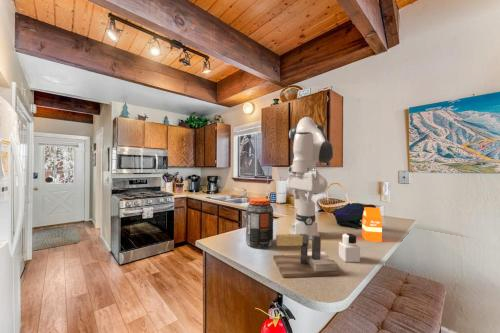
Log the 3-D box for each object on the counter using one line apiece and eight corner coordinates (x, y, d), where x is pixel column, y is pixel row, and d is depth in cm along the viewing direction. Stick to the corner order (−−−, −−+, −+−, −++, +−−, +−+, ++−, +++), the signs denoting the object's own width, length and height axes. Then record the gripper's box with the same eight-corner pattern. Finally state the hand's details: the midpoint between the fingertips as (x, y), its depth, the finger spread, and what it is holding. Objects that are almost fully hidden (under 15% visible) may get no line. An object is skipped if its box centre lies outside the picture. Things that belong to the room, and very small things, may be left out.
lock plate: (273, 258, 104) (273, 228, 104) (320, 257, 107) (321, 228, 107) (282, 277, 86) (283, 241, 86) (339, 275, 89) (340, 240, 89)
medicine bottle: (352, 256, 109) (352, 232, 109) (360, 262, 101) (360, 237, 101) (338, 256, 108) (338, 232, 108) (345, 262, 101) (345, 236, 101)
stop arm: (306, 242, 99) (306, 233, 99) (310, 245, 95) (310, 236, 95) (275, 243, 97) (275, 234, 97) (277, 246, 93) (278, 237, 93)
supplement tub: (256, 237, 135) (257, 196, 135) (278, 243, 125) (278, 199, 125) (239, 244, 122) (240, 199, 123) (262, 251, 113) (262, 202, 113)
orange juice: (381, 242, 130) (382, 209, 130) (366, 240, 132) (366, 208, 132) (376, 237, 138) (377, 206, 138) (362, 236, 140) (362, 206, 140)
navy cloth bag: (339, 234, 173) (381, 229, 162) (334, 229, 153) (382, 222, 141) (333, 209, 183) (372, 203, 171) (328, 201, 162) (372, 193, 151)
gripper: (324, 168, 85) (323, 203, 84) (298, 169, 104) (297, 197, 104) (309, 167, 83) (309, 203, 82) (286, 168, 102) (285, 197, 102)
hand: (302, 200), depth 93 cm, fingers open, 8 cm apart
